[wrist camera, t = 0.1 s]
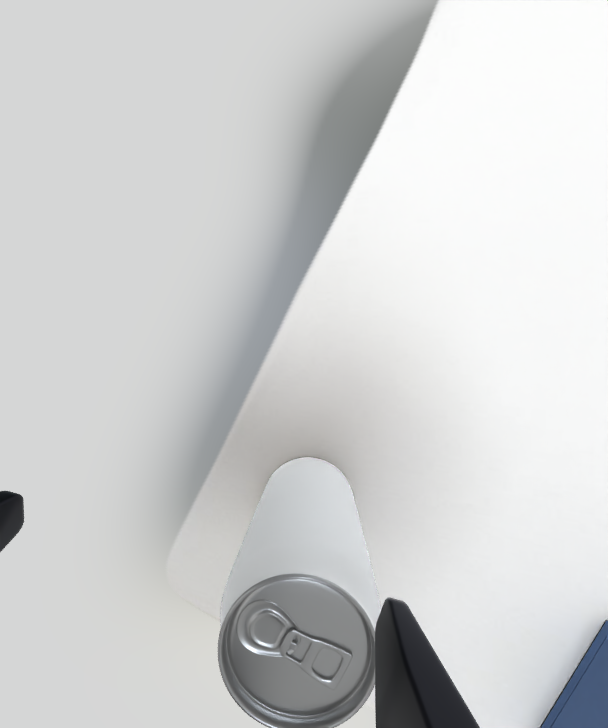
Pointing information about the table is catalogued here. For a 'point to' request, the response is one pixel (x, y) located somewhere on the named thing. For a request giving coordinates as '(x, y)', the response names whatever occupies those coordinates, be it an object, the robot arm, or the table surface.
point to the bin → (585, 691)
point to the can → (301, 604)
